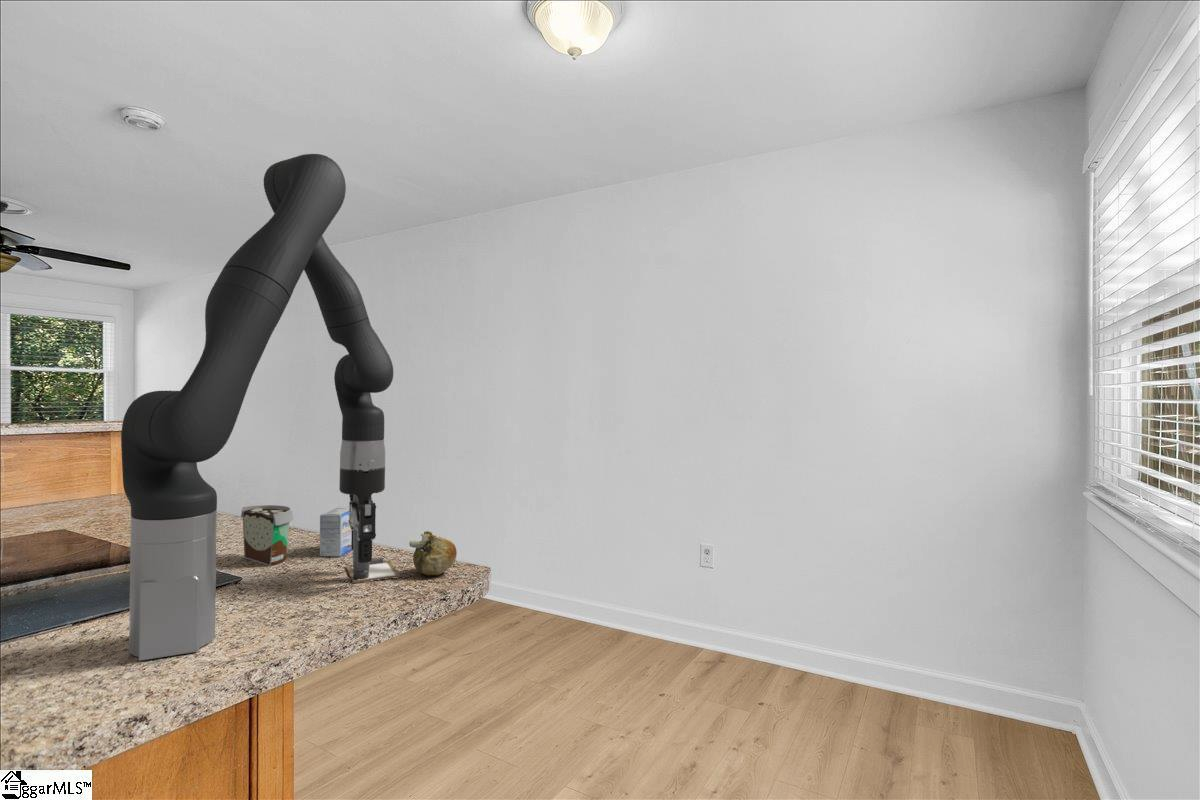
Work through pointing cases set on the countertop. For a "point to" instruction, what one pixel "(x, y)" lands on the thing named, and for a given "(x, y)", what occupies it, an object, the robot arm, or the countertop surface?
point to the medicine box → (335, 533)
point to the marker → (358, 568)
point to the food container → (266, 533)
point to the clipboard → (376, 570)
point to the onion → (433, 554)
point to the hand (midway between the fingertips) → (361, 555)
